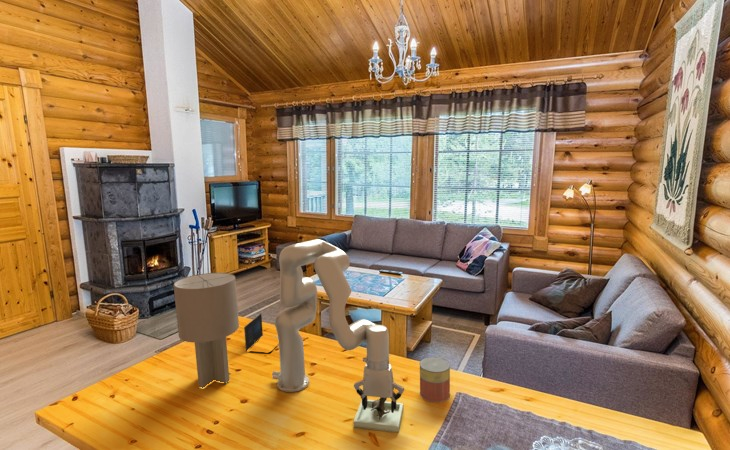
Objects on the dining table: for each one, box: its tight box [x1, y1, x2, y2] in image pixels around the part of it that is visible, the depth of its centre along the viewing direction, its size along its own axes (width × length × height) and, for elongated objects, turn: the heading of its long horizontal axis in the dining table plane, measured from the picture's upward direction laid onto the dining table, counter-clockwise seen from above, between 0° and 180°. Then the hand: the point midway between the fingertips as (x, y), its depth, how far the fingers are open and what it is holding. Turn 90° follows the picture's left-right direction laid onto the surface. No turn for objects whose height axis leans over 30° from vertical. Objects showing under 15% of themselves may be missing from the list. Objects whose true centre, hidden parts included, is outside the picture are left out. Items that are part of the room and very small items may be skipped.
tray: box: [353, 398, 404, 433], centre depth 134 cm, size 15×13×2 cm
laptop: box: [243, 313, 278, 352], centre depth 193 cm, size 18×13×13 cm
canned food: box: [419, 356, 451, 403], centre depth 147 cm, size 11×11×12 cm
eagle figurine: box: [371, 397, 390, 419], centre depth 135 cm, size 8×7×9 cm
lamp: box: [173, 272, 240, 388], centre depth 159 cm, size 23×23×43 cm
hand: (379, 408), depth 134 cm, fingers open, 9 cm apart
